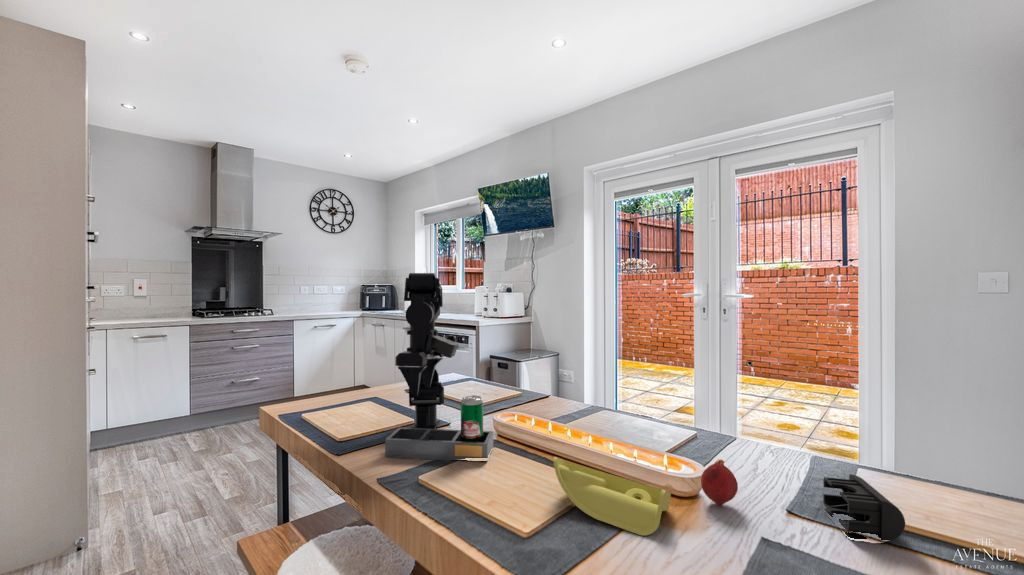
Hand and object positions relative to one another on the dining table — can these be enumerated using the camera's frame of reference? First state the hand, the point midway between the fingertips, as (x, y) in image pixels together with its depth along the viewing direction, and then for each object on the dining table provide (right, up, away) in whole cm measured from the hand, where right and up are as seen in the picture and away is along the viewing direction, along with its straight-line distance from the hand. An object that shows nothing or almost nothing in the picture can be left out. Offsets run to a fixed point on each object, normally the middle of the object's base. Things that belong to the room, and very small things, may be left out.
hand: (421, 391), depth 106 cm
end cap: (+77, -14, -35) cm, 86 cm away
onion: (+58, -14, -28) cm, 65 cm away
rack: (+5, -13, -4) cm, 15 cm away
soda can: (+12, -13, -5) cm, 18 cm away
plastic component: (+39, -14, -28) cm, 50 cm away
